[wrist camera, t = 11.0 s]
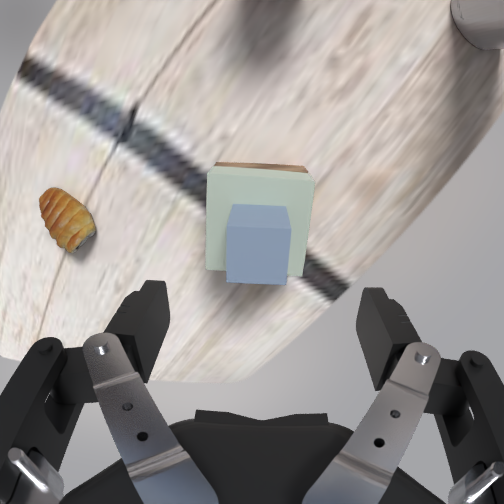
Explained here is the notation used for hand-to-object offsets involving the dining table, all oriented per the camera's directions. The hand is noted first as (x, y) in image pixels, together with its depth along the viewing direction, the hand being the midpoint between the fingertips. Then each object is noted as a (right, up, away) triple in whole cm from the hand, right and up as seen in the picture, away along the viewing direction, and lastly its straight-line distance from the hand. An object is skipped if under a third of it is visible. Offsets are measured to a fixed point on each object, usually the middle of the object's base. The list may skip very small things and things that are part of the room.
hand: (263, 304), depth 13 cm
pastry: (-25, +7, +27) cm, 38 cm away
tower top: (0, +6, +22) cm, 23 cm away
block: (0, +4, +19) cm, 19 cm away
